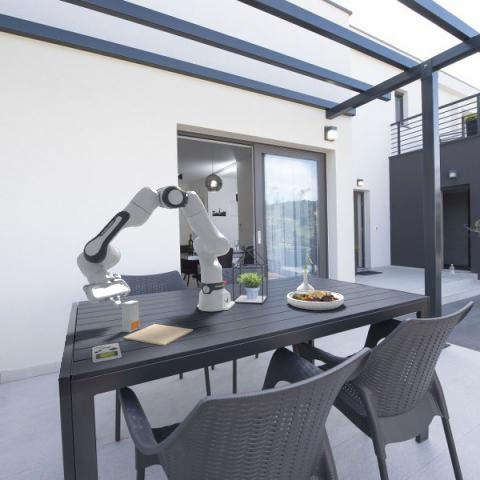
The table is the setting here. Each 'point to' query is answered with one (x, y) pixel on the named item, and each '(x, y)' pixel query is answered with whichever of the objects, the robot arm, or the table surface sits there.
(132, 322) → the skincare box
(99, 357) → the handheld gaming device
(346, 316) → the table surface
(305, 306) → the bowl
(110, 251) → the robot arm
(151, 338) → the mat
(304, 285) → the flower in vase
